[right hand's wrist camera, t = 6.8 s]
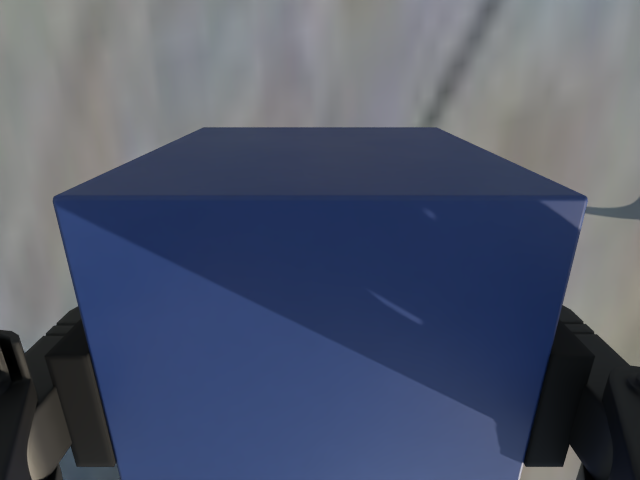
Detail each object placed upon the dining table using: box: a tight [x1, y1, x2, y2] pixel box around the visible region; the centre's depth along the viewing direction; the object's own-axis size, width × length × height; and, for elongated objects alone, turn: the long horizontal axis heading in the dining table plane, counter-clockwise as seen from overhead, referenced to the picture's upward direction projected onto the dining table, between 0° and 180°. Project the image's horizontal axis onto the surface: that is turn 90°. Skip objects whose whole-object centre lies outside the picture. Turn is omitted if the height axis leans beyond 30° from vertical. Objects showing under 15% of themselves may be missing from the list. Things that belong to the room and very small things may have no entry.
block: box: [53, 128, 588, 480], centre depth 12 cm, size 8×9×9 cm
